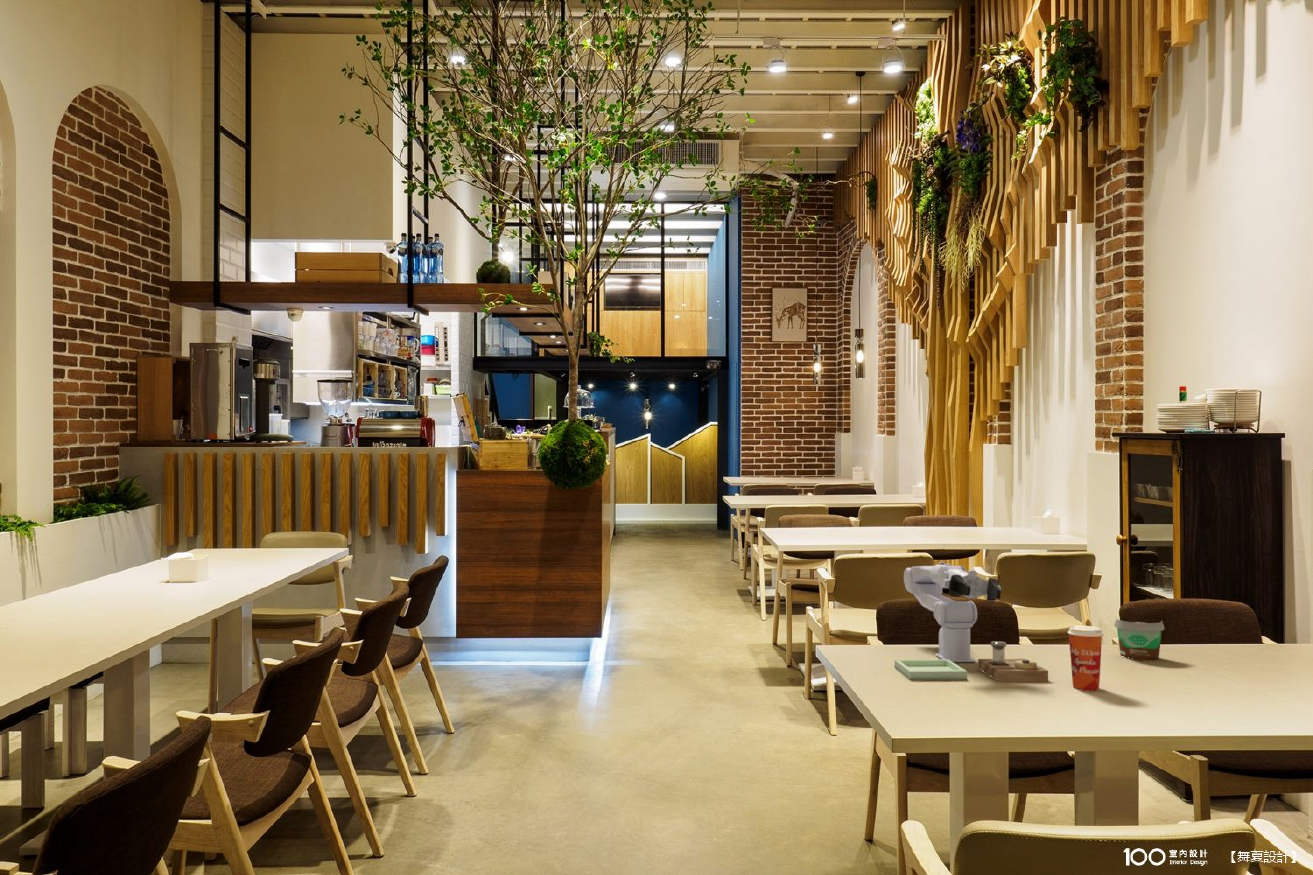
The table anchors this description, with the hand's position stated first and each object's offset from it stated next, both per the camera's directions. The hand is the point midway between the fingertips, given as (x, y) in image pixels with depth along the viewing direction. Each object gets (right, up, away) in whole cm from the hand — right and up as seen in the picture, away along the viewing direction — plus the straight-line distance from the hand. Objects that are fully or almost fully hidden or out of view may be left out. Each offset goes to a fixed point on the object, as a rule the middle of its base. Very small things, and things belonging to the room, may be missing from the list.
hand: (983, 592), depth 238 cm
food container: (+49, -21, +20) cm, 57 cm away
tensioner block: (+8, -21, +1) cm, 22 cm away
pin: (+5, -21, +2) cm, 21 cm away
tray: (-13, -21, +3) cm, 24 cm away
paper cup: (+20, -20, -12) cm, 31 cm away
